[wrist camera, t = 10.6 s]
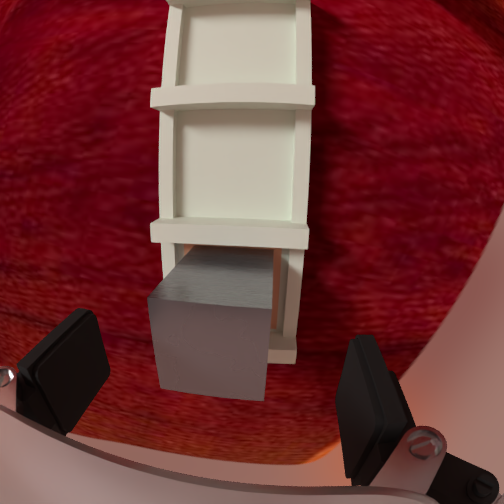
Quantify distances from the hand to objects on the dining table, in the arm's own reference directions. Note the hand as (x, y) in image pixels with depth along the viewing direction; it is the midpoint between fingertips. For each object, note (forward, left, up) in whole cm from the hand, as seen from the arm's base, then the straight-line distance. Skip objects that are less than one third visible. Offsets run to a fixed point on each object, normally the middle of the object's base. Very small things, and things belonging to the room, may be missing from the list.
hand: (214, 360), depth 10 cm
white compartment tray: (0, -6, -9) cm, 11 cm away
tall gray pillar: (0, 0, -8) cm, 8 cm away
